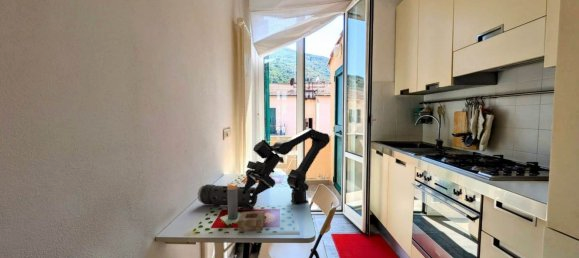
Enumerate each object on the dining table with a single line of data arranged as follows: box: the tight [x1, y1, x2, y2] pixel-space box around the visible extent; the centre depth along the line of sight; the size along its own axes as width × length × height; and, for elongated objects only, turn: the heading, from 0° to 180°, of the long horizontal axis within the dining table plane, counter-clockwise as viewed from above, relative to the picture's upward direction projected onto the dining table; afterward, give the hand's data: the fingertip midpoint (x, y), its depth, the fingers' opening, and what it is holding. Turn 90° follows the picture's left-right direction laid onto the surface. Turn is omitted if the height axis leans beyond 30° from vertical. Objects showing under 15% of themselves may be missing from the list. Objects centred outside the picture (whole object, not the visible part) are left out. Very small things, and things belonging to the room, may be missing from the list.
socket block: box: [237, 210, 266, 232], centre depth 102 cm, size 9×9×4 cm
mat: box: [219, 212, 242, 226], centre depth 110 cm, size 9×9×1 cm
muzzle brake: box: [197, 184, 258, 210], centre depth 126 cm, size 10×28×10 cm, turn 72°
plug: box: [226, 183, 239, 220], centre depth 109 cm, size 4×4×14 cm
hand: (248, 193), depth 113 cm, fingers open, 9 cm apart
